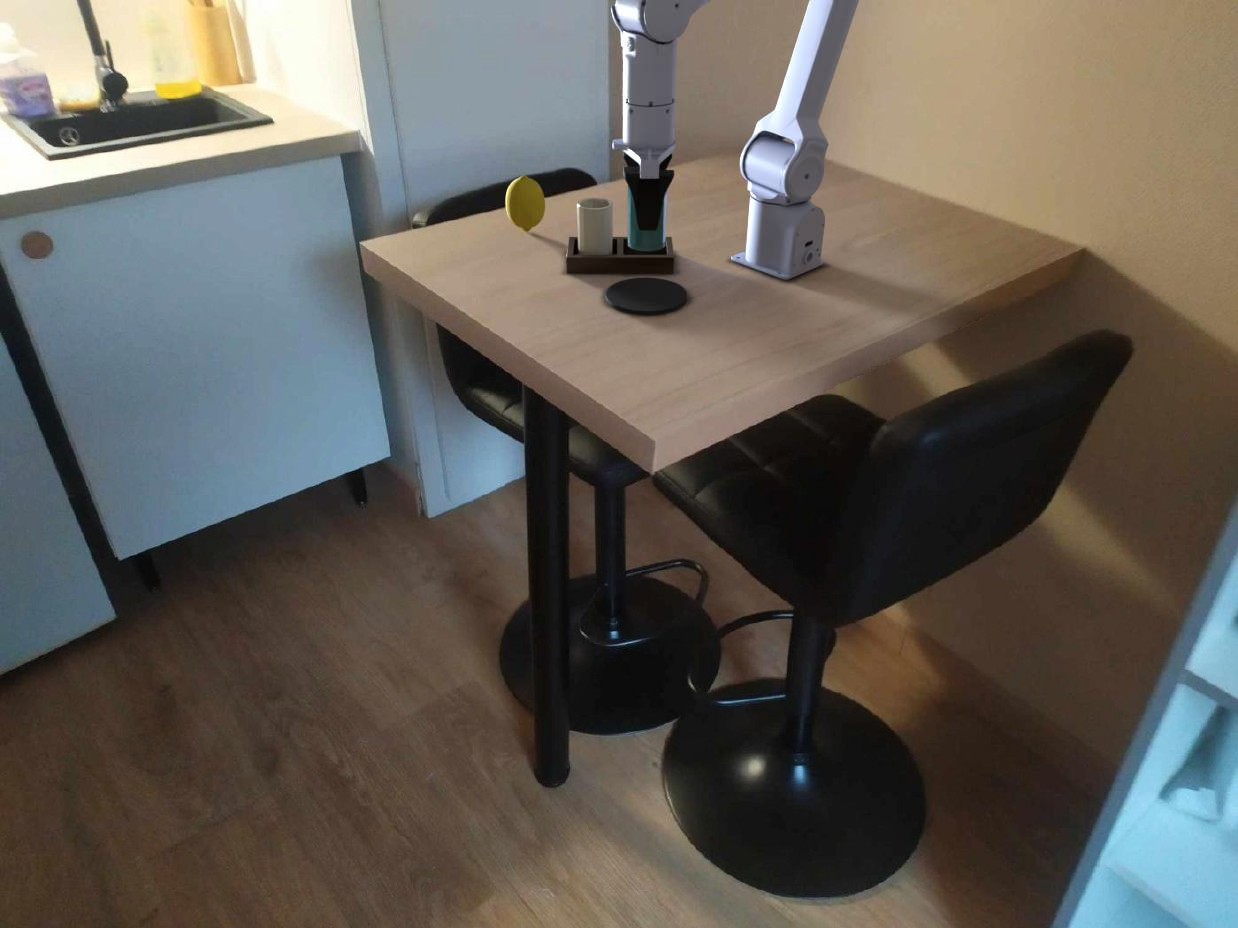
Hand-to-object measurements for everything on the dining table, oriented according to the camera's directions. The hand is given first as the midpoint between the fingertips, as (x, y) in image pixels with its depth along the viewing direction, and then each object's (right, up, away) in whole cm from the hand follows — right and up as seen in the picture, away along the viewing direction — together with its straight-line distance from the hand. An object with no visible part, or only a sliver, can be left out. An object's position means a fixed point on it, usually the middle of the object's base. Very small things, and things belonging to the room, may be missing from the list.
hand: (647, 221), depth 108 cm
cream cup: (-6, -2, +14) cm, 16 cm away
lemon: (-17, +5, +24) cm, 29 cm away
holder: (-3, -2, +14) cm, 14 cm away
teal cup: (0, -2, +2) cm, 3 cm away
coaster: (0, -8, +5) cm, 9 cm away
